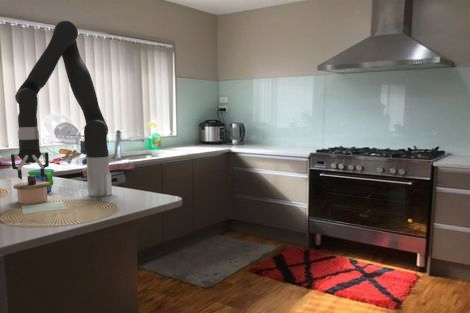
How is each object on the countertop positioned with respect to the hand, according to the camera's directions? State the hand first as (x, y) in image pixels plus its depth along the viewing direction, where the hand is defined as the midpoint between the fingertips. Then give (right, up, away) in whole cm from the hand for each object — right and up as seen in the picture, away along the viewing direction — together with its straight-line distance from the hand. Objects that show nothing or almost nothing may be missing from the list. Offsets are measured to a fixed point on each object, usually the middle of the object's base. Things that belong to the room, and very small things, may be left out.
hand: (31, 178), depth 171 cm
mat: (+10, -11, -11) cm, 19 cm away
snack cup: (-6, -8, +22) cm, 24 cm away
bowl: (0, -10, +1) cm, 10 cm away
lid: (0, -3, 0) cm, 3 cm away
